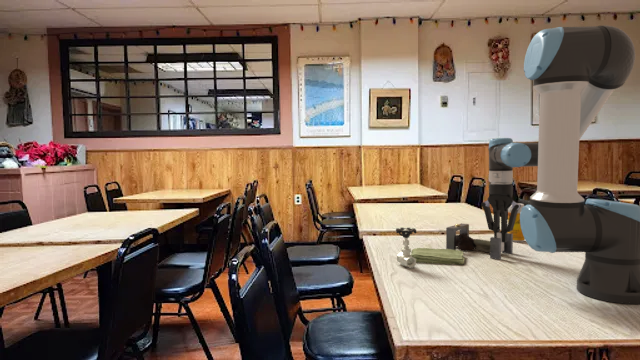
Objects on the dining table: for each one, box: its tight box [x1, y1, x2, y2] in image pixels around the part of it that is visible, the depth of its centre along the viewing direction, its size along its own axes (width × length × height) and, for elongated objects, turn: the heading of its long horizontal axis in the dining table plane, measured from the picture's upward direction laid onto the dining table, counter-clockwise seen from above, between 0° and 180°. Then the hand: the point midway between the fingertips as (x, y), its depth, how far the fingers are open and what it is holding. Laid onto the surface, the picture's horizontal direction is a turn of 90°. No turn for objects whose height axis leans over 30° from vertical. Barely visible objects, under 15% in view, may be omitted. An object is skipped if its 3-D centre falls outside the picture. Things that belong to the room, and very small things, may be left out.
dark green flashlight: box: [456, 233, 490, 254], centre depth 148 cm, size 18×7×6 cm, turn 42°
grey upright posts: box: [445, 223, 514, 261], centre depth 145 cm, size 12×19×9 cm, turn 45°
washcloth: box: [410, 247, 465, 266], centre depth 137 cm, size 13×18×3 cm
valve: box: [395, 227, 417, 269], centre depth 129 cm, size 7×7×12 cm
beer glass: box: [507, 202, 526, 243], centre depth 163 cm, size 6×6×15 cm
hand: (500, 250), depth 140 cm, fingers closed
